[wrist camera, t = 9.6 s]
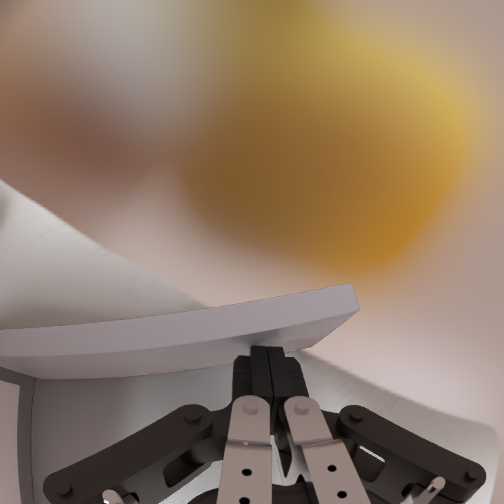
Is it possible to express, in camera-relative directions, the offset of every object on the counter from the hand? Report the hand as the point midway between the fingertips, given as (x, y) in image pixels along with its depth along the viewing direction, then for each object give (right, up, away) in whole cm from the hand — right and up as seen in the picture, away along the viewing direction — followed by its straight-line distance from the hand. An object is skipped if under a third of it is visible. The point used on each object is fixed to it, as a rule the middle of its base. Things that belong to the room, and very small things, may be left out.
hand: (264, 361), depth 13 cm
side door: (-6, -2, +3) cm, 7 cm away
